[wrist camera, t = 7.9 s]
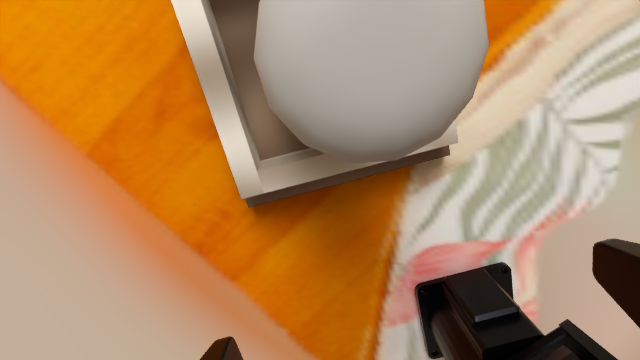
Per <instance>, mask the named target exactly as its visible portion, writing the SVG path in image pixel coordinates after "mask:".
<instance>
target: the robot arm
mask: <svg viewBox="0 0 640 360" xmlns="http://www.w3.org/2000/svg"><path fill="white" fill-rule="evenodd" d="M592 268H593V269H592V270H593V275H594V277H595V279H596V280H597V282H598V283H599V284H600V285H601V286H602V287H603V288H604V289H605V290H606V292H607V293H608V294H609V295H610V296H611V297H612V298H613V299H614V300H615V301H616V303H617V304H618V305H619V306H620V307H621V308H622V309H623V310H624V311H625V312H626V314H627V315H628V316H629V317H630V318H631V319H632V320H633V321H634V322H635V323H636V325H637V326H638V327H639V328H640V244H638V243H633V242H628V241H624V240H619V239H607V240H604V241H600V242H597V243H595V244H594V246H593V267H592ZM502 269H504V270H503V271H501V270H502ZM500 271H501V272H500ZM423 289H426V290H425V291H423V292H421V291H422V290H423ZM415 292H416V298H417V303H418V308H419V314H420V319H421V324H422V329H423V335H424V340H425V345H426V351H427V353H428V355H429V357H430V358H432V359H437V358H441V357H444V358H445V360H618V359H616V358H615V357H614V356H613V355H611V354H610V353H609V352H608V351H606V350H605V349H604V348H603V347H602V346H600V345H599V344H598V343H596V342H595V341H594V340H593V339H592V338H590V337H589V336H588V335H587V334H585V333H584V332H583V331H582V330H580V329H579V328H578V327H577V326H576V325H574V324H573V323H572V322H571V321H569V320H568V319H567V320H565V321H563V322H562V323H561V324H559V327H558V328H556V329H555V330H553V331H551V332H550V333H548V334H547V335H544V334H543V333H542V332H541V331H540V330H539V329H538V328H537V327H536V326H535V324H534V323H533V322H532V321H531V320H530V319H529V318H528V317H527V316H526V315H525V314H524V312H523V311H522V310H521V309H520V307H519V306H518V305H517V304H516V303H515V302H514V300H513V289H512V275H511V268H510V267H509V266H508V265H507V264H506V263H503V262H501V263H496V264H492V265H489V266H485V267H481V268H477V269H473V270H469V271H465V272H461V273H457V274H453V275H450V276H446V277H442V278H438V279H434V280H430V281H426V282H422V283H420V284H418V285H417V286H416V288H415ZM433 351H434V352H433ZM200 360H243V358H242V356H241V353H240V351H239V348H238V346H237V344H236V341H235V340H234V338H233V337H225V338H222V339H218V340H216V341H215V342H214V343H213V344H212V345H211V346H210V347H209V349H208V350H207V351H206V352H205V354H204V355H203V356H202V358H201V359H200Z"/></svg>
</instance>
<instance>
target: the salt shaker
mask: <svg viewBox="0 0 640 360" xmlns="http://www.w3.org/2000/svg"><path fill="white" fill-rule="evenodd" d="M488 47H489V42H488V34H487V25H486V17H485V9H484V0H260V2H259V9H258V19H257V29H256V39H255V49H254V61H255V64H256V68H257V71H258V74H259V77H260V80H261V83H262V87H263V90H264V93H265V96H266V99H267V103H268V106H269V108H270V109H271V110H272V112H273V113H274V114H275V115H276V116H277V117H278V118H279V119H280V120H281V121H282V122H283V123H284V124H285V125H286V126H287V127H288V128H289V129H290V130H291V131H292V133H293V134H294V135H295V136H296V137H297V138H298V139H299V140H300V141H301V142H302V143H303V144H305V145H306V146H308V147H311V148H313V149H316V150H318V151H320V152H323V153H325V154H328V155H330V156H333V157H335V158H338V159H340V160H343V161H345V162H347V163H350V164H354V163H367V162H379V161H392V160H398V159H400V158H402V157H404V156H406V155H408V154H410V153H412V152H414V151H416V150H418V149H420V148H422V147H423V146H425V145H427V144H429V143H431V142H433V141H435V140H437V139H439V138H441V136H442V135H443V134H444V133H445V131H446V130H447V129H448V128H449V126H450V125H451V124H452V123H453V121H454V120H455V119H456V118H457V116H458V115H459V114H460V113H461V111H462V110H463V109H464V108H465V106H466V105H467V104H468V103H469V101H470V100H471V99H472V98H473V94H474V91H475V88H476V85H477V82H478V79H479V75H480V72H481V69H482V66H483V63H484V60H485V56H486V53H487V50H488Z"/></svg>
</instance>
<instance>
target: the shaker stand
mask: <svg viewBox="0 0 640 360" xmlns="http://www.w3.org/2000/svg"><path fill="white" fill-rule="evenodd" d="M171 1H172V4H173V7H174V10H175V13H176V16H177V18H178V21H179V24H180V27H181V30H182V33H183V35H184V38H185V41H186V44H187V47H188V49H189V52H190V55H191V58H192V61H193V64H194V66H195V69H196V72H197V75H198V78H199V81H200V83H201V86H202V89H203V92H204V95H205V97H206V100H207V103H208V106H209V109H210V112H211V114H212V117H213V120H214V123H215V126H216V129H217V131H218V134H219V137H220V140H221V143H222V145H223V148H224V151H225V154H226V157H227V160H228V162H229V165H230V168H231V171H232V174H233V177H234V179H235V182H236V185H237V188H238V191H239V193H240V196H241V199H244V198H245V199H246V202H247V205H248V208H249V207H253V206H257V205H261V204H264V203H268V202H272V201H276V200H280V199H284V198H287V197H291V196H295V195H299V194H303V193H307V192H310V191H314V190H318V189H322V188H326V187H330V186H333V185H337V184H341V183H345V182H349V181H353V180H356V179H360V178H364V177H368V176H372V175H376V174H379V173H383V172H387V171H391V170H395V169H399V168H402V167H406V166H410V165H414V164H418V163H422V162H425V161H429V160H433V159H437V158H441V157H444V156H448V155H450V150H449V145H451V144H455V143H458V138H457V130H456V122H455V120H454V121H453V123H452V124H451V125H450V126H449V128H448V129H447V130H446V131H445V133H444V134H443V135H442V136H441V138H439V139H437V140H435V141H433V142H431V143H429V144H427V145H425V146H423V147H422V148H420V149H418V150H416V151H414V152H412V153H410V154H408V155H406V156H404V157H402V158H400V159H398V160H392V161H379V162H367V163H354V164H350V163H347V162H345V161H343V160H340V159H338V158H335V157H333V156H330V155H328V154H325V153H323V152H320V151H318V150H316V149H313V148H311V147H308V146H306V145H305V144H303V143H302V142H301V141H300V140H299V139H298V138H297V137H296V136H295V135H294V134H293V133H292V131H291V130H290V129H289V128H288V127H287V126H286V125H285V124H284V123H283V122H282V121H281V120H280V119H279V118H278V117H277V116H276V115H275V114H274V113H273V112H272V110H271V109H270V108H269V106H268V103H267V99H266V96H265V93H264V90H263V87H262V83H261V80H260V77H259V74H258V71H257V68H256V64H255V61H254V49H255V39H256V29H257V19H258V9H259V2H260V0H171Z"/></svg>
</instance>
